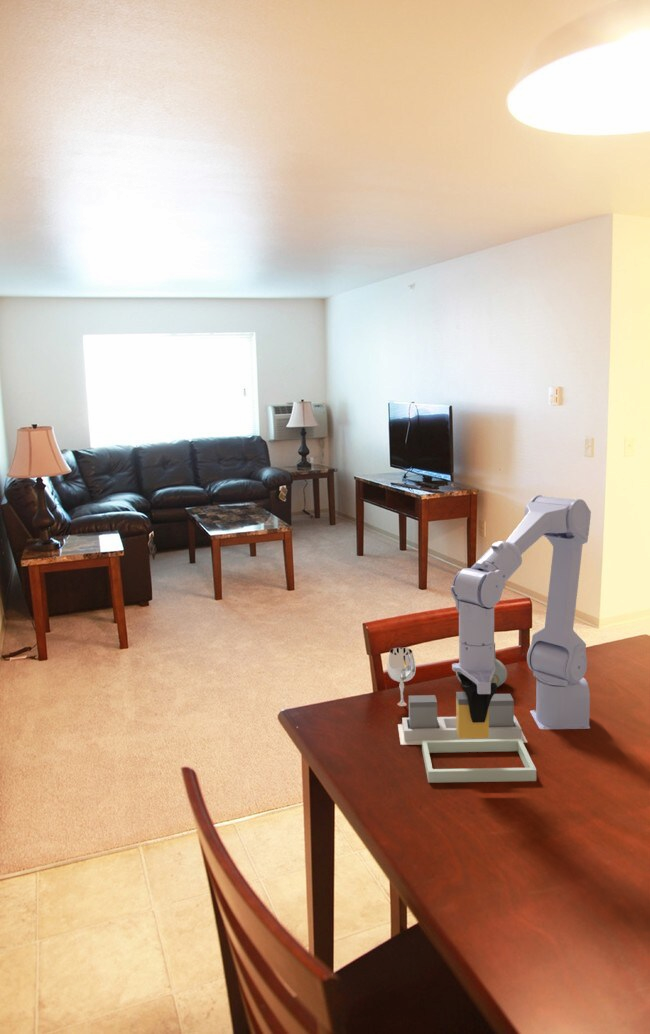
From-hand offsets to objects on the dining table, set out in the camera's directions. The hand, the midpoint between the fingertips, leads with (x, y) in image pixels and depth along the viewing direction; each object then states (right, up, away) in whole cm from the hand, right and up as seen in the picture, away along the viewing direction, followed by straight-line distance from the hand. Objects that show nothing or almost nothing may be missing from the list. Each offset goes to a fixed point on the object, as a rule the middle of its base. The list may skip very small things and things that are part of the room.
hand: (476, 716), depth 121 cm
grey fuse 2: (+7, -6, +13) cm, 16 cm away
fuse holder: (0, -7, +13) cm, 15 cm away
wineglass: (-10, -6, +26) cm, 28 cm away
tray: (0, -9, +2) cm, 9 cm away
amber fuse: (-1, -3, +1) cm, 3 cm away
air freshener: (+9, -3, +35) cm, 37 cm away
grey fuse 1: (-7, -7, +13) cm, 16 cm away
